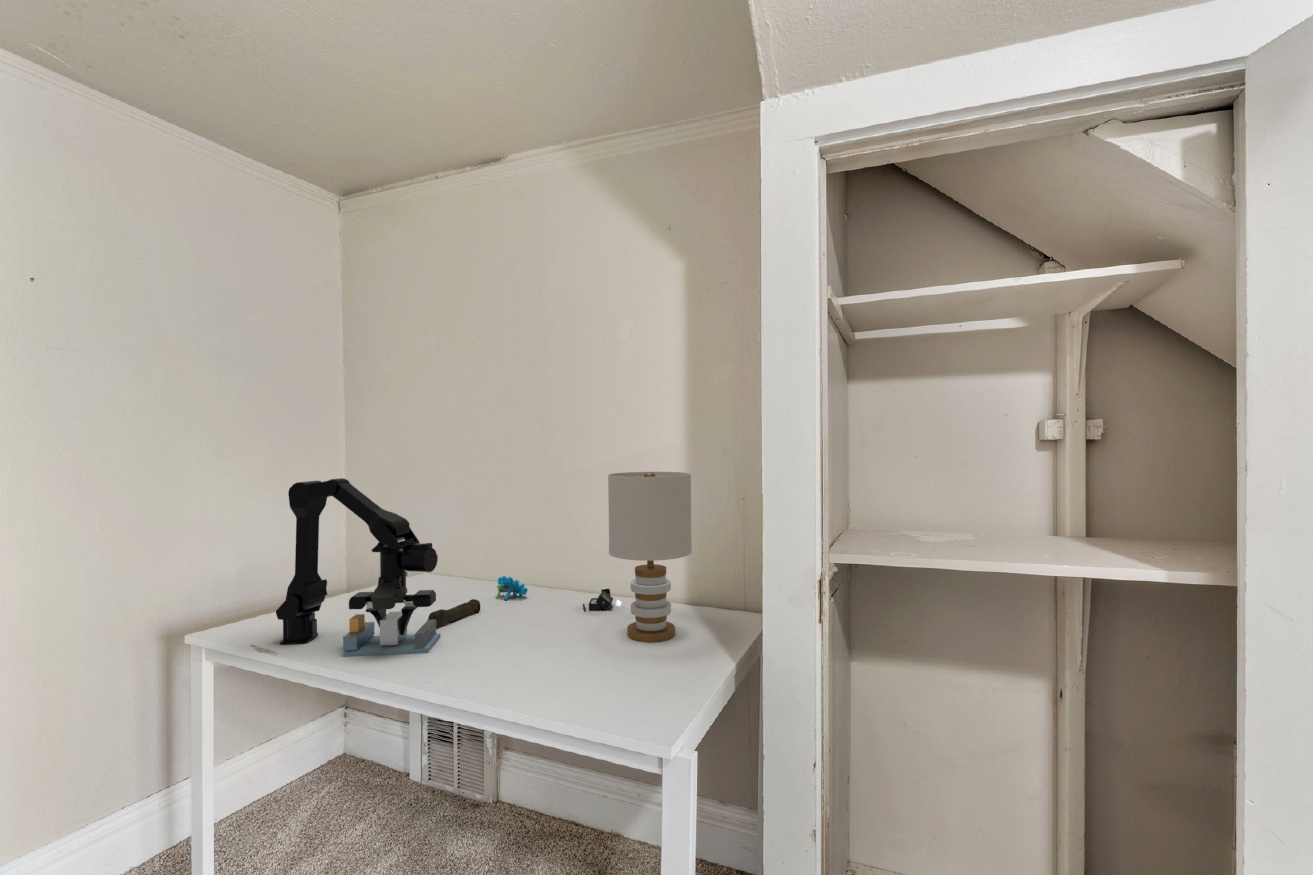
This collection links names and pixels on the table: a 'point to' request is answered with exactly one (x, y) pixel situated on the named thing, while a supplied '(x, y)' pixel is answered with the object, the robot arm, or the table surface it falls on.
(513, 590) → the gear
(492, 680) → the table surface
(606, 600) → the black angled gadget
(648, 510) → the lamp
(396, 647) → the vise
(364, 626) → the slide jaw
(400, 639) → the steel block
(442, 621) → the brown wooden stick
